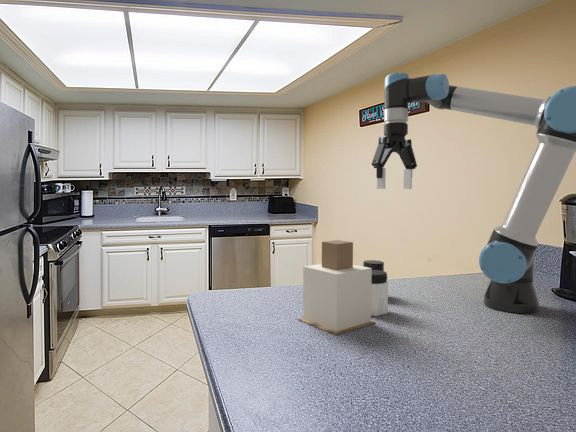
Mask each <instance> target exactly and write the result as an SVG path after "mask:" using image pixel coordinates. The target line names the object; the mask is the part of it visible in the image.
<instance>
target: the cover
mask: <svg viewBox="0 0 576 432" xmlns="http://www.w3.org/2000/svg"><path fill="white" fill-rule="evenodd" d="M302 268H303V273H302V275H303V279H302V280H303V282H302V283H303V285H302V286H303V288H302V289H303V291H302V292H303V297H302V298H303V300H302V301H303V302H302V306H303V308H302V309H303V311H302V318H303V319H305V320H308V321H310V322H313V323H315V324H318V325H321V326H323V327H326V328H328V329H331V330H333V331H336V332H337V331H340V330H344V329H347V328H351V327H354V326H357V325H361V324H364V323H368V322H371V321H372V316H371V284H372V268H368V267H363V265H358V264H357V265H356V264H354V242H352V241H347V240H346V241H345V240H339V239H335V240H334V239H333V240H328V241H326V240H325V241H321V263H317V264H311V265H305V266H303V267H302Z"/></svg>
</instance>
